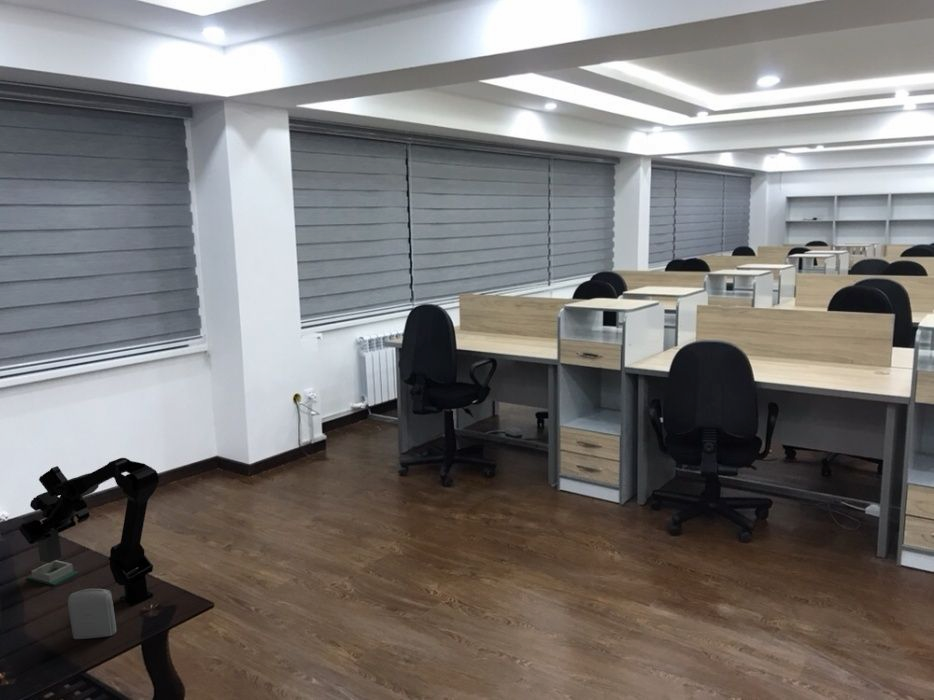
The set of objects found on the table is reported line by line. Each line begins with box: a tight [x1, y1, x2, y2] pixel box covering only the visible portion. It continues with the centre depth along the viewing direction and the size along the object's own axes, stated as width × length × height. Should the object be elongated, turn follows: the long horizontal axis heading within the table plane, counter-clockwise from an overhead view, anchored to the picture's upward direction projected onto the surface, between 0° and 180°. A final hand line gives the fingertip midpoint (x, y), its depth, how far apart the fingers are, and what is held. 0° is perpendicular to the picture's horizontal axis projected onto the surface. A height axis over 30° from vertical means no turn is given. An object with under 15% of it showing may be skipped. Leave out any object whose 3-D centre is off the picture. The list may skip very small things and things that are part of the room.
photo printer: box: [67, 588, 117, 640], centre depth 187 cm, size 10×4×12 cm, turn 96°
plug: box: [36, 517, 63, 564], centre depth 217 cm, size 4×4×12 cm
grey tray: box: [26, 559, 80, 587], centre depth 219 cm, size 12×8×3 cm, turn 66°
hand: (44, 537), depth 218 cm, fingers closed on plug, 4 cm apart
